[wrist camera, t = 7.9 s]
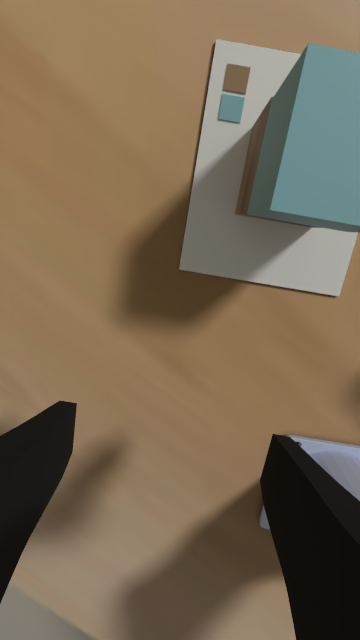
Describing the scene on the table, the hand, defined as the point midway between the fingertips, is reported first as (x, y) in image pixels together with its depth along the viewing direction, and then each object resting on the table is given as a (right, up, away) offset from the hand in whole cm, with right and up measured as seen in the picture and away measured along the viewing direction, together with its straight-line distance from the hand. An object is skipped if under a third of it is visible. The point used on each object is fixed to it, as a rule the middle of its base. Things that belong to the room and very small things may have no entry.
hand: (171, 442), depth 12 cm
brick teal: (+6, +11, +3) cm, 13 cm away
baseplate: (+6, +12, +7) cm, 16 cm away
